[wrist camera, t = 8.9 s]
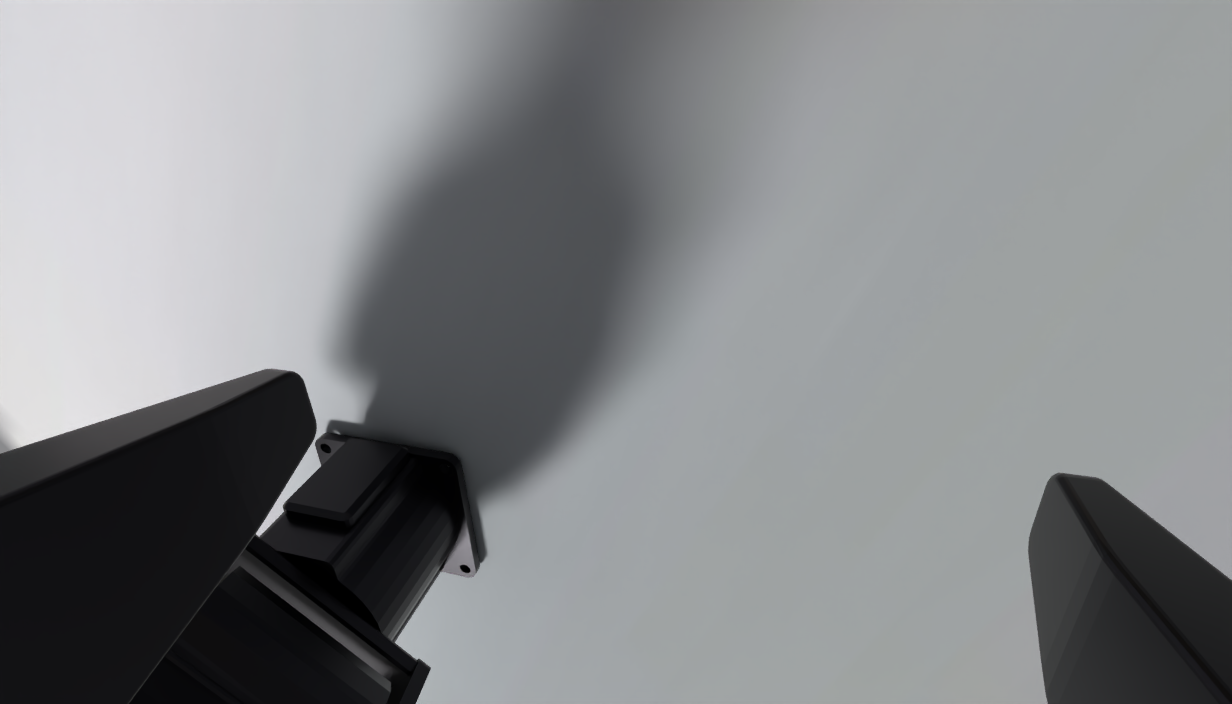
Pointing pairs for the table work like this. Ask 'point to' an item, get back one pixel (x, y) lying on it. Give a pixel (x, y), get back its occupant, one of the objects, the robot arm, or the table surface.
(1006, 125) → the table surface
